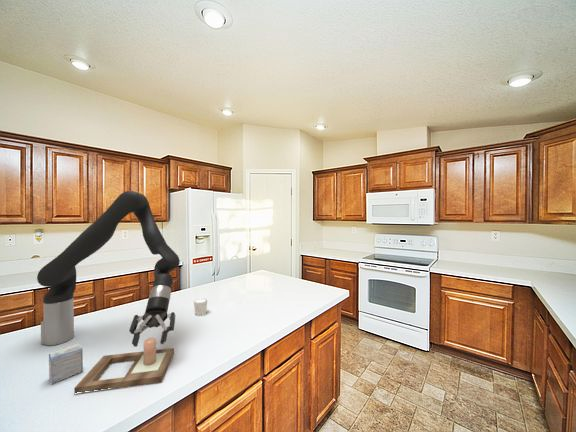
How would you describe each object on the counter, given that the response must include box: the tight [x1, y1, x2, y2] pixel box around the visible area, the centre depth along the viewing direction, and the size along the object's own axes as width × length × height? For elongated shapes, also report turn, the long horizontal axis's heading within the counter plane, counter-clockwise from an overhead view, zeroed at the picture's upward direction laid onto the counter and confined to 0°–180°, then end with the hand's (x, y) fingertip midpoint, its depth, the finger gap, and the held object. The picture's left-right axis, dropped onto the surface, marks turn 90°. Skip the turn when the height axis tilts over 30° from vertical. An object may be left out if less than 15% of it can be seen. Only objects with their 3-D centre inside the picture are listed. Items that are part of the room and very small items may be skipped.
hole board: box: [73, 347, 175, 394], centre depth 81 cm, size 24×16×2 cm, turn 103°
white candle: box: [193, 298, 208, 317], centre depth 127 cm, size 7×7×7 cm
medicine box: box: [48, 343, 84, 385], centre depth 79 cm, size 8×4×9 cm, turn 141°
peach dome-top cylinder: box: [143, 337, 157, 365], centre depth 83 cm, size 4×4×8 cm
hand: (148, 344), depth 82 cm, fingers open, 8 cm apart
